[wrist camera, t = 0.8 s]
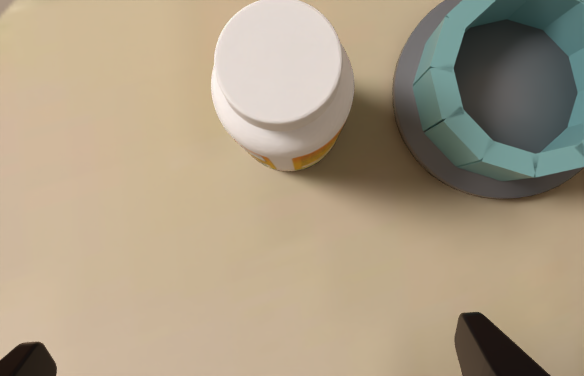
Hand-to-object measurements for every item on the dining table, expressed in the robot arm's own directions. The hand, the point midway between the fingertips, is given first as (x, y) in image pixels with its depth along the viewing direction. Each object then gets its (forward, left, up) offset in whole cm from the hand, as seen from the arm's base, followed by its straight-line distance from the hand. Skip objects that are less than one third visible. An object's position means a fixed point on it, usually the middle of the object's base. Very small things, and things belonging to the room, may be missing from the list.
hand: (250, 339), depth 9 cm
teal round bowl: (+6, -13, -13) cm, 19 cm away
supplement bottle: (+7, -2, -13) cm, 15 cm away
